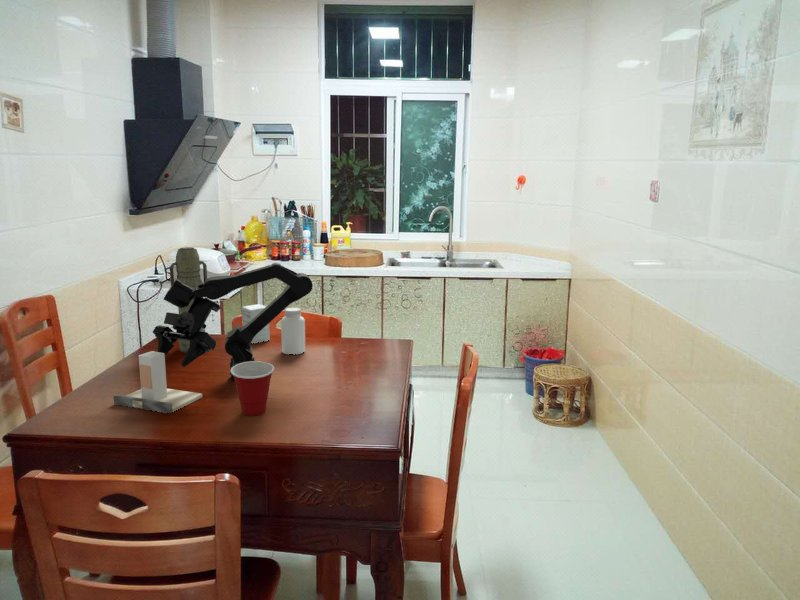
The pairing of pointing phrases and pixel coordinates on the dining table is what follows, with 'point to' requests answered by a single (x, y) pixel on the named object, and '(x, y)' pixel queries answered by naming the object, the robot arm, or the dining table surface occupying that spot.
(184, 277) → the thermos
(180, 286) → the robot arm
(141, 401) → the shelf board
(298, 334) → the pill bottle
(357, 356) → the dining table surface
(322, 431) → the dining table surface
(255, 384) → the plastic cup
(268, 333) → the supplement box
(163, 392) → the grey carton
